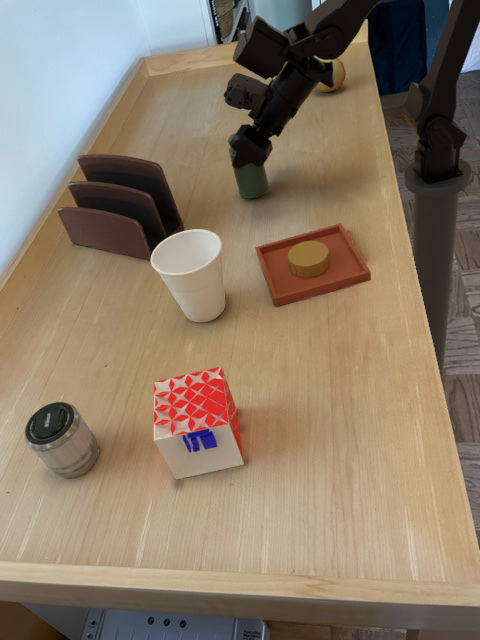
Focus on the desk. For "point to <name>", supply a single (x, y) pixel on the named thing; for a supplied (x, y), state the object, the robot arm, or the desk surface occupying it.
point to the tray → (339, 274)
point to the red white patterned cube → (197, 423)
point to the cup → (193, 272)
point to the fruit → (338, 76)
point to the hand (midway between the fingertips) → (239, 158)
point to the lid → (308, 259)
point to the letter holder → (121, 206)
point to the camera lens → (62, 439)
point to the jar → (249, 177)
